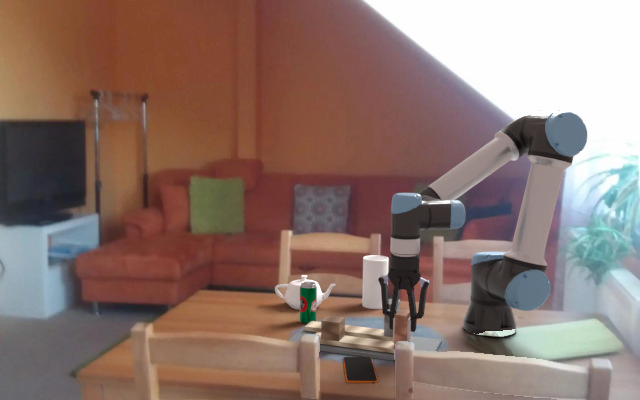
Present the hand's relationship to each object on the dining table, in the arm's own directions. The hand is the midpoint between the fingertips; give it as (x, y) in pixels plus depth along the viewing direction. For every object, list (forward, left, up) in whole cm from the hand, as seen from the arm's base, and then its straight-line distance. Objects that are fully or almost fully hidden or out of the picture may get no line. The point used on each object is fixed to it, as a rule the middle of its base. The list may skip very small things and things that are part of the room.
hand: (402, 342), depth 177 cm
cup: (+19, -43, -4) cm, 47 cm away
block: (+19, 0, -1) cm, 19 cm away
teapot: (+40, -34, -4) cm, 53 cm away
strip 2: (+11, 0, -2) cm, 12 cm away
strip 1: (+17, -9, -2) cm, 19 cm away
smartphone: (+8, +14, -4) cm, 16 cm away
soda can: (+33, -18, -4) cm, 38 cm away
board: (+12, -4, -4) cm, 13 cm away
